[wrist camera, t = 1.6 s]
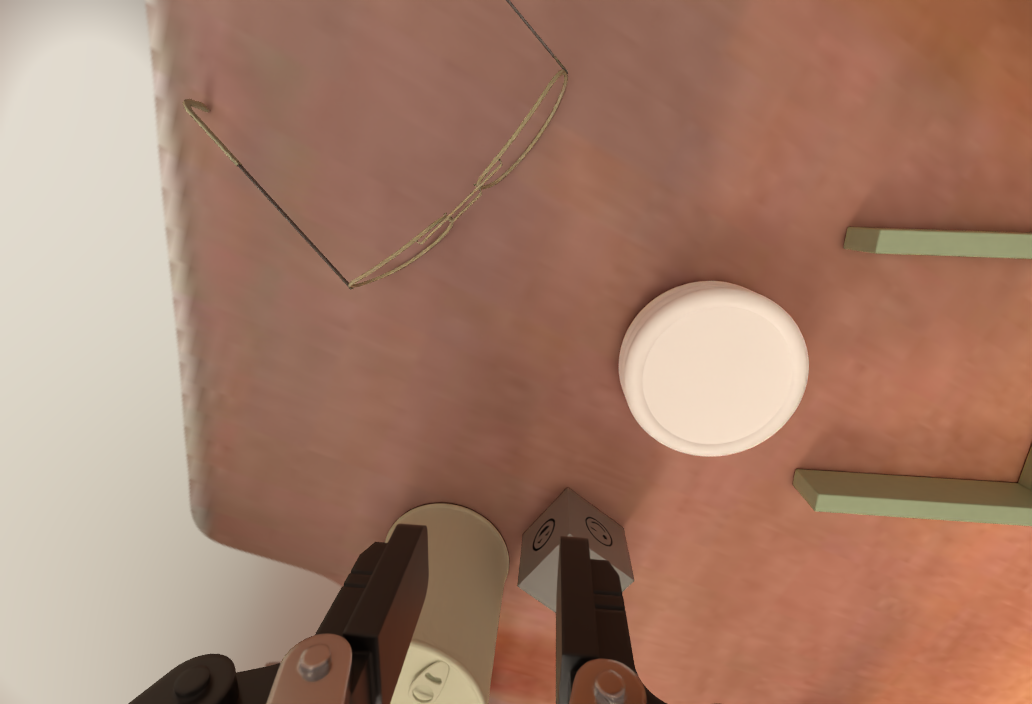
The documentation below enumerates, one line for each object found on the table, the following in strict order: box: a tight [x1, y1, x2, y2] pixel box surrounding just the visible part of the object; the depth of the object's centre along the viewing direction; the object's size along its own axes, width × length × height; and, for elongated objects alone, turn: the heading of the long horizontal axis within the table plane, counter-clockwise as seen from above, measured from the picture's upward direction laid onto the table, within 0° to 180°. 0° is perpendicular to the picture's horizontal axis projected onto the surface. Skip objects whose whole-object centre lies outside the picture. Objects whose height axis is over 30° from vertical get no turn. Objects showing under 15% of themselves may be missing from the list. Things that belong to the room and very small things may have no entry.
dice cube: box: [517, 487, 634, 613], centre depth 32 cm, size 5×5×5 cm
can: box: [385, 503, 509, 704], centre depth 30 cm, size 9×9×12 cm
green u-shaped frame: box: [793, 227, 1032, 526], centre depth 28 cm, size 16×15×3 cm
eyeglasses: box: [183, 0, 568, 289], centre depth 25 cm, size 16×15×5 cm
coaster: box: [619, 281, 809, 456], centre depth 29 cm, size 10×10×4 cm
